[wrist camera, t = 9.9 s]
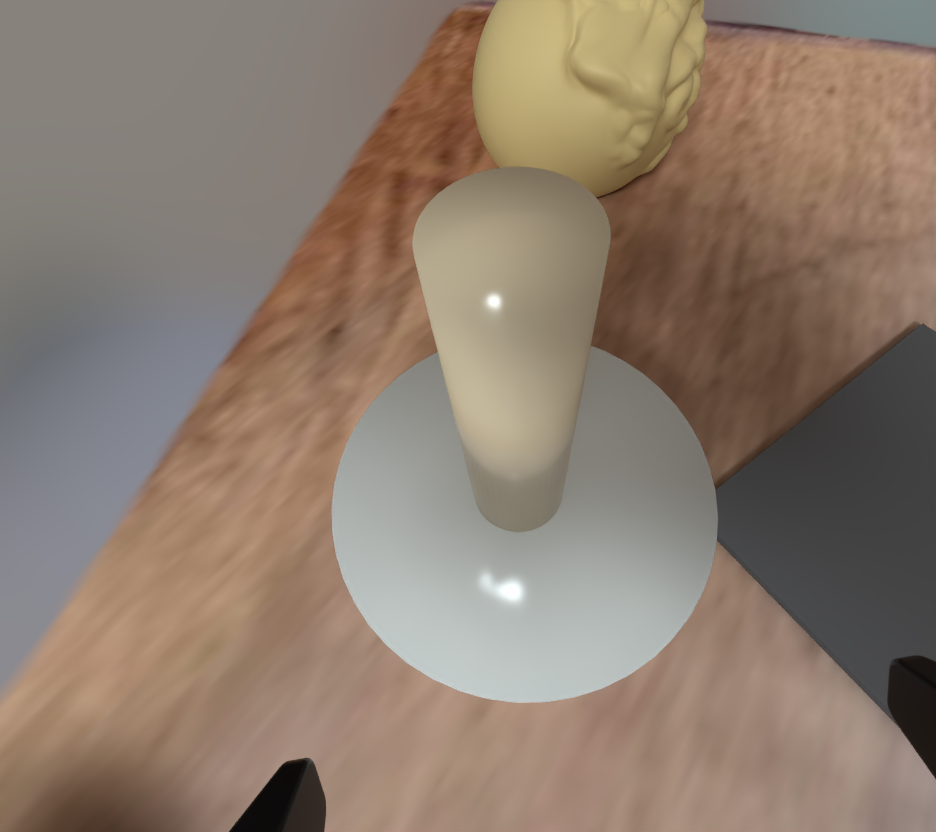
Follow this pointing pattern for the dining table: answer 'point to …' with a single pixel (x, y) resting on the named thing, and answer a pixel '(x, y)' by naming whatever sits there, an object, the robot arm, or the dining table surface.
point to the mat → (850, 517)
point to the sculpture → (587, 85)
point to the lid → (522, 463)
